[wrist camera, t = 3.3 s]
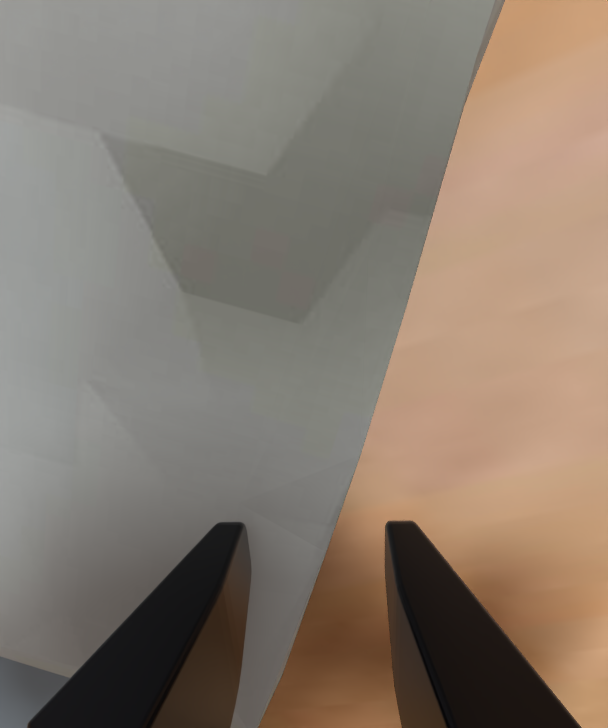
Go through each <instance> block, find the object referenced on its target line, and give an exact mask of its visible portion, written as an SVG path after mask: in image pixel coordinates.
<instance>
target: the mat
mask: <svg viewBox="0 0 608 728" xmlns="http://www.w3.org/2000/svg"><path fill="white" fill-rule="evenodd" d="M68 680H69V678H68V677H65V676H62V675H59V674H55V673H52V672H49V671H46V670H42V669H39V668H36V667H33V666H30V665H26V664H23V663H20V662H17V661H13V660H10V659H7V658H4V657H0V728H27V724H28V722H29V721H30V720H31V719H32V718H33V717H34V715H35V714H36V713H37V712H38V711H39V710H40V709H41V708H42V707H43V706H44V705H45V704H46V703H47V702H48V701H49V700H50V699H51V698H52V696H53V695H54V694H55V693H56V692H57V691H58V690H59V689H60V688H61V687H62V686H63V685H64V684H65V683H66V682H67V681H68Z"/></svg>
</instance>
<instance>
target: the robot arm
mask: <svg viewBox="0 0 608 728" xmlns="http://www.w3.org/2000/svg"><path fill="white" fill-rule="evenodd" d="M251 570H252V568H251V557H250V550H249V542H248V535H247V529H246V526H245V524H244V523H242V522H219V523H217V524H215V525H214V526H213V527H212V528H211V529H210V530H209V532H208V533H207V534H206V535H205V536H204V537H203V538H202V539H201V540H200V541H199V542H198V543H197V544H196V545H195V546H194V547H193V548H192V549H191V551H190V552H189V553H188V554H187V555H186V556H185V557H184V558H183V559H182V560H181V561H180V562H179V563H178V564H177V565H176V566H175V567H174V569H173V570H172V571H171V572H170V573H169V574H168V575H167V576H166V577H165V578H164V579H163V580H162V581H161V582H160V583H159V584H158V585H157V586H156V588H155V589H154V590H153V591H152V592H151V593H150V594H149V595H148V596H147V597H146V598H145V599H144V600H143V601H142V602H141V603H140V604H139V606H138V607H137V608H136V609H135V610H134V611H133V612H132V613H131V614H130V615H129V616H128V617H127V618H126V619H125V620H124V621H123V622H122V624H121V625H120V626H119V627H118V628H117V629H116V630H115V631H114V632H113V633H112V634H111V635H110V636H109V637H108V638H107V639H106V640H105V641H104V643H103V644H102V645H101V646H100V647H99V648H98V649H97V650H96V651H95V652H94V653H93V654H92V655H91V656H90V657H89V658H88V659H87V661H86V662H85V663H84V664H83V665H82V666H81V667H80V668H79V669H78V670H77V671H76V672H75V673H74V674H73V675H72V676H71V677H70V678H69V680H68V681H67V682H66V683H65V684H64V685H63V686H62V687H61V688H60V689H59V690H58V691H57V692H56V693H55V694H54V695H53V696H52V698H51V699H50V700H49V701H48V702H47V703H46V704H45V705H44V706H43V707H42V708H41V709H40V710H39V711H38V712H37V713H36V714H35V715H34V717H33V718H32V719H31V720H30V721H29V722H28V724H27V728H231V723H232V718H233V714H234V709H235V705H236V700H237V694H238V689H239V684H240V676H241V668H242V660H243V651H244V641H245V632H246V623H247V613H248V604H249V595H250V585H251ZM385 581H386V593H387V605H388V618H389V630H390V643H391V655H392V667H393V677H394V686H395V692H396V698H397V704H398V709H399V715H400V720H401V725H402V728H581V726H580V725H579V724H578V723H577V721H576V720H575V719H574V718H573V716H572V715H571V714H570V713H569V711H568V710H567V709H566V708H565V707H564V705H563V704H562V703H561V702H560V700H559V699H558V698H557V697H556V695H555V694H554V693H553V692H552V690H551V689H550V688H549V687H548V686H547V684H546V683H545V682H544V681H543V679H542V678H541V677H540V676H539V674H538V673H537V672H536V671H535V670H534V668H533V667H532V666H531V665H530V663H529V662H528V661H527V660H526V658H525V657H524V656H523V655H522V653H521V652H520V651H519V650H518V649H517V647H516V646H515V645H514V644H513V642H512V641H511V640H510V639H509V637H508V636H507V635H506V634H505V633H504V631H503V630H502V629H501V628H500V626H499V625H498V624H497V623H496V621H495V620H494V619H493V618H492V616H491V615H490V614H489V613H488V612H487V610H486V609H485V608H484V607H483V605H482V604H481V603H480V602H479V600H478V599H477V598H476V597H475V596H474V594H473V593H472V592H471V591H470V589H469V588H468V587H467V586H466V584H465V583H464V582H463V581H462V579H461V578H460V577H459V576H458V575H457V573H456V572H455V571H454V570H453V568H452V567H451V566H450V565H449V563H448V562H447V561H446V560H445V559H444V557H443V556H442V555H441V554H440V552H439V551H438V550H437V549H436V547H435V546H434V545H433V544H432V542H431V541H430V540H429V539H428V538H427V536H426V535H425V534H424V533H423V531H422V530H421V529H420V528H419V526H418V525H417V524H416V523H415V522H413V521H388V522H387V523H386V525H385Z"/></svg>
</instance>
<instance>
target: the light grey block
mask: <svg viewBox="0 0 608 728" xmlns="http://www.w3.org/2000/svg"><path fill="white" fill-rule="evenodd" d="M504 1H505V0H0V657H4V658H7V659H10V660H13V661H17V662H20V663H23V664H26V665H30V666H33V667H36V668H39V669H42V670H46V671H49V672H52V673H55V674H59V675H62V676H65V677H68V678H70V677H71V676H72V675H73V674H74V673H75V672H76V671H77V670H78V669H79V668H80V667H81V666H82V665H83V664H84V663H85V662H86V661H87V659H88V658H89V657H90V656H91V655H92V654H93V653H94V652H95V651H96V650H97V649H98V648H99V647H100V646H101V645H102V644H103V643H104V641H105V640H106V639H107V638H108V637H109V636H110V635H111V634H112V633H113V632H114V631H115V630H116V629H117V628H118V627H119V626H120V625H121V624H122V622H123V621H124V620H125V619H126V618H127V617H128V616H129V615H130V614H131V613H132V612H133V611H134V610H135V609H136V608H137V607H138V606H139V604H140V603H141V602H142V601H143V600H144V599H145V598H146V597H147V596H148V595H149V594H150V593H151V592H152V591H153V590H154V589H155V588H156V586H157V585H158V584H159V583H160V582H161V581H162V580H163V579H164V578H165V577H166V576H167V575H168V574H169V573H170V572H171V571H172V570H173V569H174V567H175V566H176V565H177V564H178V563H179V562H180V561H181V560H182V559H183V558H184V557H185V556H186V555H187V554H188V553H189V552H190V551H191V549H192V548H193V547H194V546H195V545H196V544H197V543H198V542H199V541H200V540H201V539H202V538H203V537H204V536H205V535H206V534H207V533H208V532H209V530H210V529H211V528H212V527H213V526H214V525H215V524H217V523H219V522H242V523H244V524H245V526H246V529H247V535H248V542H249V550H250V557H251V568H252V570H251V585H250V595H249V604H248V613H247V623H246V632H245V641H244V651H243V660H242V668H241V676H240V684H239V689H238V694H237V700H236V705H235V709H234V714H233V718H232V723H231V728H258V726H259V724H260V722H261V720H262V718H263V715H264V713H265V711H266V709H267V707H268V705H269V702H270V700H271V698H272V696H273V694H274V692H275V689H276V687H277V685H278V683H279V681H280V679H281V677H282V674H283V671H284V669H285V666H286V663H287V660H288V657H289V655H290V652H291V649H292V646H293V644H294V641H295V638H296V635H297V632H298V630H299V627H300V624H301V621H302V618H303V616H304V613H305V610H306V607H307V604H308V602H309V599H310V596H311V593H312V590H313V588H314V585H315V582H316V579H317V576H318V574H319V571H320V568H321V565H322V562H323V560H324V557H325V554H326V551H327V548H328V546H329V543H330V540H331V537H332V534H333V531H334V529H335V526H336V523H337V520H338V517H339V514H340V512H341V509H342V506H343V503H344V500H345V497H346V495H347V492H348V489H349V486H350V483H351V480H352V478H353V475H354V472H355V469H356V466H357V463H358V461H359V458H360V455H361V452H362V448H363V445H364V442H365V439H366V435H367V432H368V429H369V426H370V422H371V419H372V416H373V413H374V410H375V406H376V403H377V400H378V397H379V393H380V390H381V387H382V384H383V380H384V377H385V374H386V371H387V367H388V364H389V361H390V358H391V354H392V351H393V348H394V345H395V341H396V338H397V335H398V332H399V328H400V325H401V322H402V319H403V315H404V312H405V309H406V306H407V302H408V299H409V295H410V292H411V288H412V285H413V281H414V278H415V274H416V271H417V267H418V264H419V261H420V257H421V254H422V250H423V247H424V243H425V240H426V236H427V233H428V229H429V226H430V222H431V219H432V216H433V212H434V209H435V205H436V202H437V198H438V195H439V191H440V188H441V184H442V181H443V177H444V174H445V171H446V167H447V164H448V160H449V157H450V153H451V150H452V146H453V143H454V139H455V136H456V132H457V129H458V126H459V122H460V119H461V115H462V112H463V108H464V105H465V102H466V100H467V97H468V94H469V92H470V89H471V87H472V84H473V81H474V79H475V76H476V74H477V71H478V69H479V66H480V63H481V61H482V58H483V56H484V53H485V50H486V48H487V45H488V43H489V40H490V38H491V35H492V32H493V30H494V27H495V25H496V22H497V19H498V17H499V14H500V12H501V9H502V7H503V4H504Z"/></svg>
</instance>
